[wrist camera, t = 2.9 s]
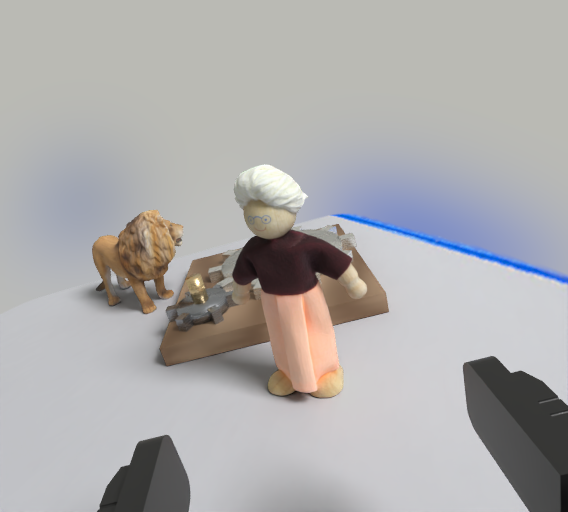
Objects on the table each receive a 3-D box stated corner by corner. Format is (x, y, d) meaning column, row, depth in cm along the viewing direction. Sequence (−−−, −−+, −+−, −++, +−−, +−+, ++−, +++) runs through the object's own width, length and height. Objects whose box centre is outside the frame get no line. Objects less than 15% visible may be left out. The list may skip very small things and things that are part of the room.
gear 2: (204, 314, 32) (200, 303, 32) (217, 255, 44) (214, 247, 44) (374, 272, 32) (372, 260, 32) (341, 224, 44) (339, 215, 44)
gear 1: (164, 337, 30) (149, 301, 29) (176, 305, 35) (164, 273, 34) (238, 319, 30) (226, 282, 29) (240, 289, 35) (230, 256, 34)
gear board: (166, 366, 30) (159, 348, 29) (196, 272, 45) (192, 260, 45) (388, 311, 29) (385, 292, 29) (341, 236, 45) (338, 223, 45)
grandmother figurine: (245, 409, 23) (170, 191, 19) (260, 366, 27) (200, 172, 22) (385, 401, 22) (339, 156, 17) (382, 355, 25) (343, 141, 20)
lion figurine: (212, 289, 40) (182, 200, 37) (173, 319, 36) (136, 222, 33) (117, 284, 48) (86, 210, 45) (77, 307, 44) (40, 228, 41)
